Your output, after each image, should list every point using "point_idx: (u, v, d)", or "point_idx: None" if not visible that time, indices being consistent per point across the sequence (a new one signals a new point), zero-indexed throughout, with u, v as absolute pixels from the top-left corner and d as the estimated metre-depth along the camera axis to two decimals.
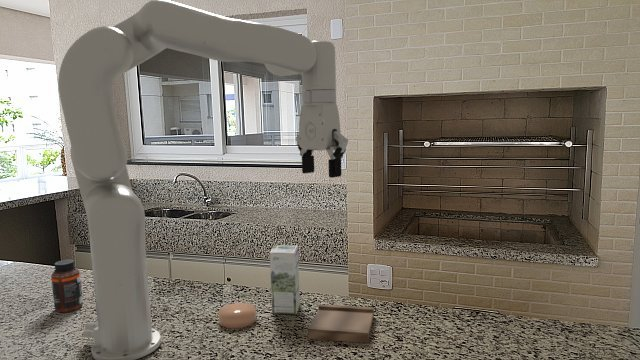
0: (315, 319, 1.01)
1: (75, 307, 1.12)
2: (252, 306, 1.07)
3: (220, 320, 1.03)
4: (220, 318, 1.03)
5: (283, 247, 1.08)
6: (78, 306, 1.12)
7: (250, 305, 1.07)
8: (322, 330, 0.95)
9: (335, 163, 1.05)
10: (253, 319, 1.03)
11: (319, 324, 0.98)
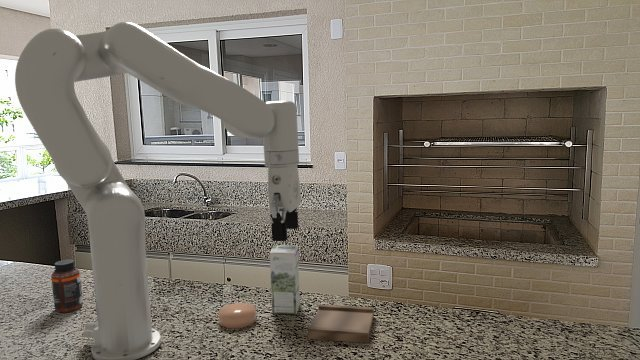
0: (315, 319, 1.01)
1: (75, 307, 1.12)
2: (252, 306, 1.07)
3: (220, 320, 1.03)
4: (220, 318, 1.03)
5: (283, 247, 1.08)
6: (78, 306, 1.12)
7: (250, 305, 1.07)
8: (322, 330, 0.95)
9: None
10: (253, 319, 1.03)
11: (319, 324, 0.98)
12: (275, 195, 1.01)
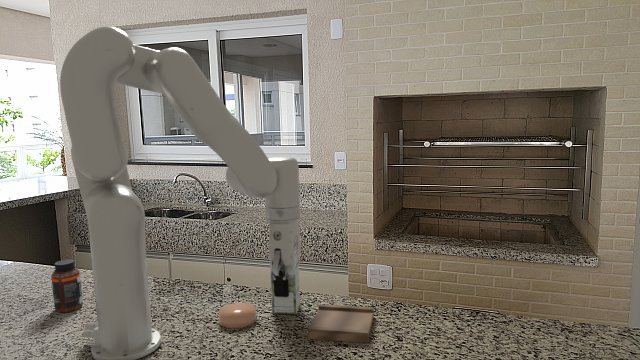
0: (315, 319, 1.01)
1: (75, 307, 1.12)
2: (252, 306, 1.06)
3: (220, 320, 1.03)
4: (220, 318, 1.03)
5: None
6: (78, 306, 1.12)
7: (250, 305, 1.07)
8: (322, 330, 0.95)
9: None
10: (253, 319, 1.03)
11: (319, 324, 0.98)
12: (276, 253, 1.03)
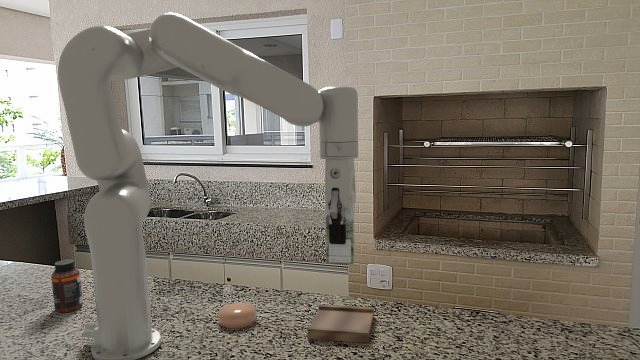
0: (315, 319, 1.01)
1: (75, 307, 1.12)
2: (252, 306, 1.06)
3: (220, 320, 1.03)
4: (219, 318, 1.03)
5: None
6: (78, 306, 1.12)
7: (250, 305, 1.07)
8: (322, 330, 0.95)
9: None
10: (252, 319, 1.03)
11: (319, 324, 0.98)
12: (334, 193, 0.91)
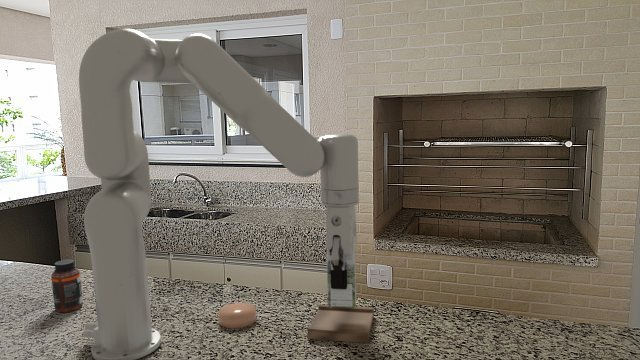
0: (315, 319, 1.01)
1: (75, 307, 1.12)
2: (252, 306, 1.06)
3: (219, 319, 1.03)
4: (219, 317, 1.03)
5: None
6: (78, 306, 1.12)
7: (251, 305, 1.07)
8: (322, 330, 0.95)
9: None
10: (252, 319, 1.03)
11: (319, 324, 0.98)
12: (335, 240, 0.92)
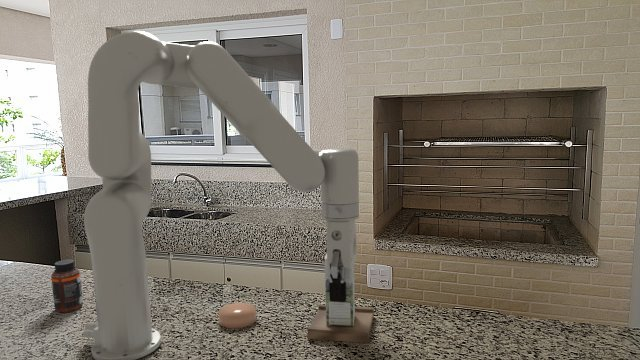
0: (315, 319, 1.01)
1: (75, 307, 1.12)
2: (253, 307, 1.06)
3: (219, 319, 1.03)
4: (219, 317, 1.03)
5: None
6: (78, 306, 1.12)
7: (251, 305, 1.07)
8: (322, 330, 0.95)
9: None
10: (252, 320, 1.03)
11: (319, 324, 0.98)
12: (335, 253, 0.93)
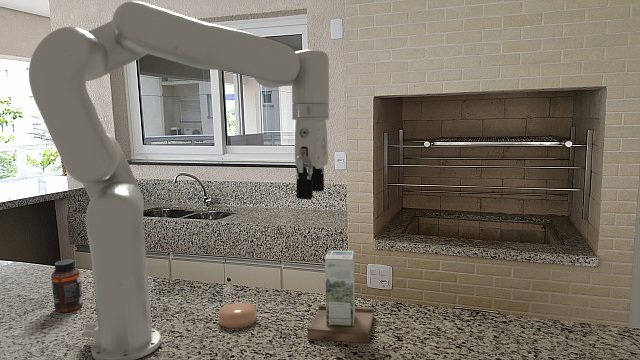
0: (315, 319, 1.01)
1: (75, 307, 1.12)
2: (253, 306, 1.06)
3: (219, 319, 1.03)
4: (219, 317, 1.03)
5: (338, 252, 0.98)
6: (78, 306, 1.12)
7: (251, 305, 1.07)
8: (322, 330, 0.95)
9: None
10: (252, 320, 1.03)
11: (319, 324, 0.98)
12: (302, 149, 0.95)
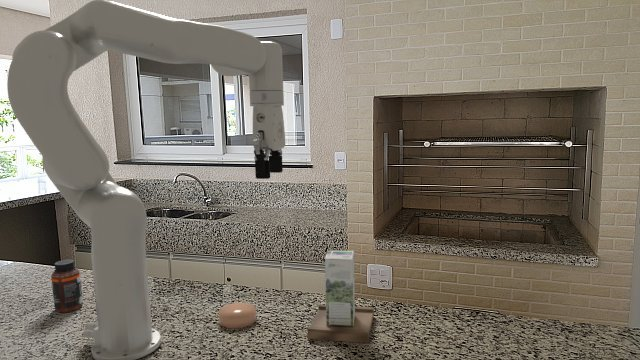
0: (315, 319, 1.01)
1: (75, 307, 1.12)
2: (253, 307, 1.06)
3: (219, 319, 1.03)
4: (219, 317, 1.03)
5: (338, 252, 0.98)
6: (78, 306, 1.12)
7: (251, 306, 1.07)
8: (322, 330, 0.95)
9: None
10: (251, 320, 1.03)
11: (319, 324, 0.98)
12: (259, 132, 1.03)
